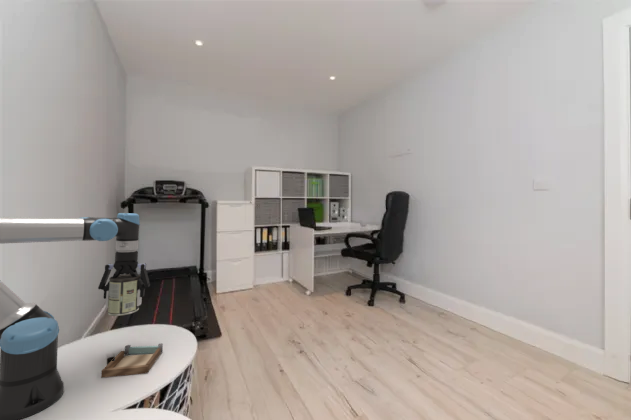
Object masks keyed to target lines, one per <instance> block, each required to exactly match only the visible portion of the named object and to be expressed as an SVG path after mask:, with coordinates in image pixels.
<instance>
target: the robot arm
mask: <svg viewBox="0 0 631 420" xmlns="http://www.w3.org/2000/svg"><path fill="white" fill-rule="evenodd" d="M140 225H141V224H140V215H139V214H138V213H133V212H132V213H129V212H128V213H127V212H119V213H117V216H116V217H98V216H97V217H94V216H93V217H92V216H91V217H90V216H88V217H87V216H86V217H79V218H78V217H72V218H71V217H21V216H20V217H18V216H16V217H15V216H14V217H10V216H6V217H5V216H3V217H1V216H0V244H1V245H2V244H24V243H26V244H27V243H50V242H51V243H52V242H57V243H58V242H75V241H76V242H77V241H78V242H80V241H84V242H85V241H86V242H87V241H88V242H90V241H98V242H107V241H110V240H113V239H115V238H116V239H115V253H114V254H115V256H114V263H108V264H105V265H104V272H103V275H102V277H101V279H100V282H99V284H98V287H97V289H98V290H101V291H102V290H103V299H105V308H108V306H109V285H110V280H109V278H110V275H111V271H112V270H113V269H115V272H114V273H113V275H112V276H111V277H112V278H116V277H118V276H119V275H123V274H130V275H131V276H132V277H138V276H139V275H141V277H140V279H138V284H137V285H138V286H139V288H140V289H138V293H137V306H139V307H140V306H141V305H142V301H143V300H142V299H143V297H145V292H146V291H145V290H146V289H147V288H149V287H150V286H151V283H150V282H151V281H150V278H149V275H148V272H147V264H146V262H145V263H139V261H138V255H139V251H138V250H139V241H140V239H139V237H140V236H139V234H140ZM137 268H138V269H139V270H140V274H139V273H138V271H137ZM138 274H139V275H138ZM141 278H142V279H141ZM108 280H109V281H108ZM59 333H60V326H59V322H58V321H57V320H56V319H55V317H54V316H53V315H52V314H51V313H50V312H49V311H46V310H43V309H42V308H41V307H40V306H38V305H37V303H36V302H25V301H24V300H23V299H21V298H20V297H19V296H18V295H17V294H16V293H15V292H14V291H13V290H12V289H11V288H10V287H8V286H7V285H6V284H5V283H4V282H3V281H1V280H0V420H16V419H19V420H21V419H25V418H27V417H30V416H33V415H35V414H38V413H39V412H41V411H43V410H45V409H46V408H47V409H48V408H49V407H50V406H52V405H53V404H54V403H56V402H57V401H58V400H59V399H60V398H61V397H62V396H63V394H64V391H65V383H64V381H63V380H62V377H61V374H60V373H59V370H58V350H59V349H58V348H59Z"/></svg>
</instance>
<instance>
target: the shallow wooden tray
mask: <svg viewBox="0 0 631 420" xmlns="http://www.w3.org/2000/svg"><path fill="white" fill-rule="evenodd" d="M161 354H162V353H161V348H158V349H157V350H156V351H155V353H145V354H130V355H125V354H124V350H121V351H119V352H118V354H116V356H115V357H114V358H115V361H112V360H111V361H110V362H108V363H107V365H106V366H104V368H102V369H101V373H100V374H101V376H100V378H101V379H103V378H111V377H113V378H114V377H122V376H131V375H132V376H134V375H142V374H148V373H149V372H150V370H151V369H152V367H154V365H155V363H156V362H157V360H158V359H159V357H160V356H161Z"/></svg>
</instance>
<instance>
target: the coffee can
mask: <svg viewBox="0 0 631 420" xmlns="http://www.w3.org/2000/svg"><path fill="white" fill-rule="evenodd" d="M138 275H139V276H138V277H132V276H131V275H130V274H120V275H119V276H118V277H116V278H112V277H113V276H109V277H108V280H109V281H110V285H109V306H108V309H107V310H108V311H107V315H108V316H112V317H119V316H121V317H122V316H126V315H131V314H134V313H136V312H138V311H139V310H140V305H139V306H137V293H138V289H140V288H139V286H138V285H137V284H138V279H140V278H142V275H141V274H139V273H138Z"/></svg>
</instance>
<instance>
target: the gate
mask: <svg viewBox="0 0 631 420" xmlns="http://www.w3.org/2000/svg"><path fill="white" fill-rule="evenodd" d="M163 345H164V344H163V343H158V345H143V346H142V345H141V346H140V345H139V346H131V344H127V345H125V346H124V350H123V351H124V356H129V355H144V354H154V353H155V351H156V350H157V349H158V348H161V354H162V353H163Z"/></svg>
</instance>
